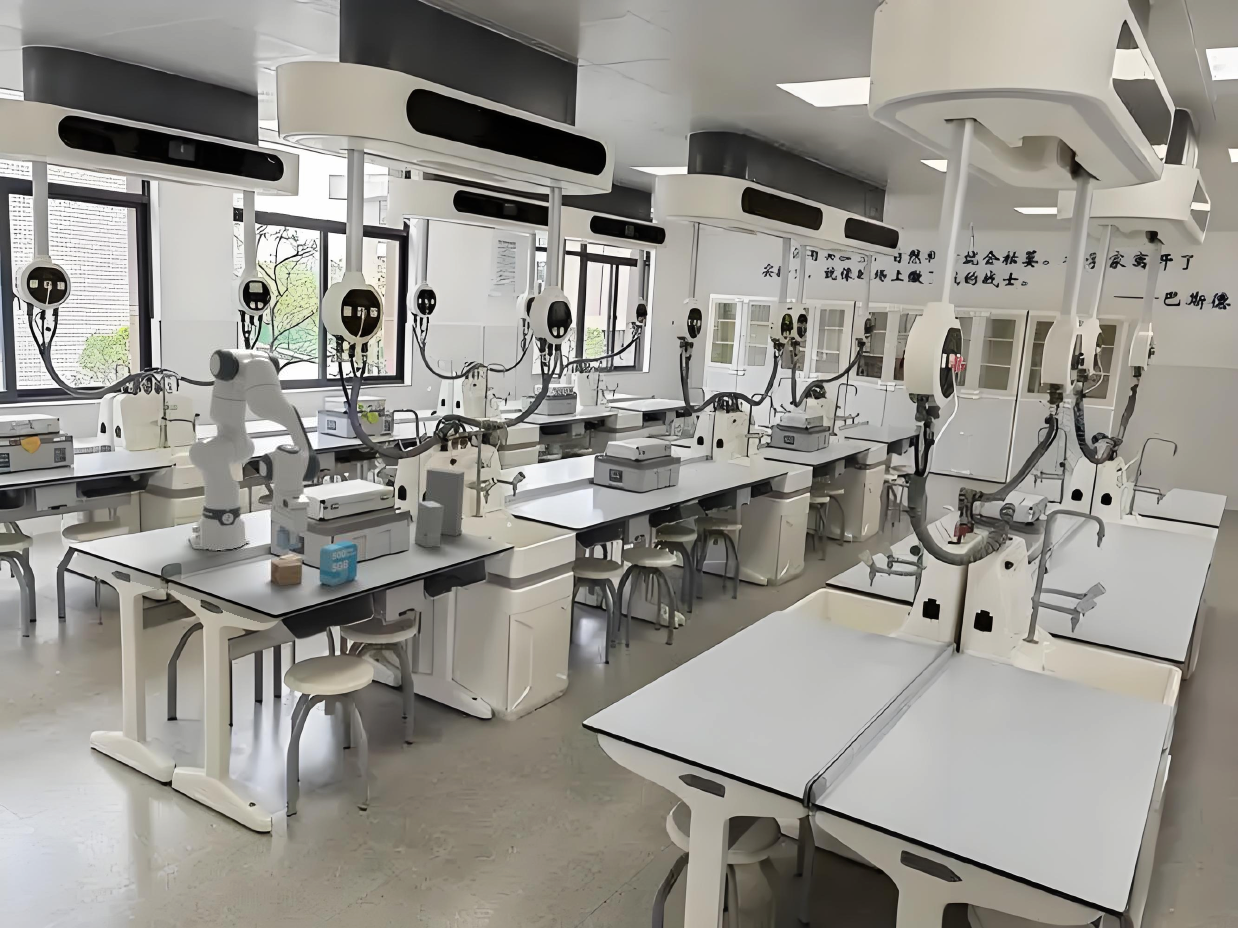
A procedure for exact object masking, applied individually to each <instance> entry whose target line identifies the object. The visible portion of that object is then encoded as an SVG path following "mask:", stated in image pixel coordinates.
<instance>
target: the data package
mask: <svg viewBox="0 0 1238 928" xmlns="http://www.w3.org/2000/svg"><path fill="white" fill-rule="evenodd" d="M357 572H358V545H357V544H356V543H353V542H349V541H340V542H336V543H333V544H330V545H325V546H323V547H321V549H320V551H319V578H318V580H319V582H320V584H323V585H326V586H331V587H335V586H337V585H340V584H341V585H342V584H343V583H346V582H350V581H353V580H355V578H356V577H357Z"/></svg>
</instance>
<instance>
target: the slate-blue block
mask: <svg viewBox="0 0 1238 928" xmlns="http://www.w3.org/2000/svg"><path fill="white" fill-rule="evenodd" d="M289 537H290V530H288V529H285V530H279V529H277V530H276V547H278V548H280V549H282V550H284V551H285V550H291V549H299V547H300V533H298V534H297V537H296V543H295V544H290V543H289V542H288V541H289V540H288V538H289Z"/></svg>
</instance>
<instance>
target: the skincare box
mask: <svg viewBox="0 0 1238 928" xmlns="http://www.w3.org/2000/svg"><path fill="white" fill-rule="evenodd" d="M443 511H444V506H442V505H440V504H438V503H436V502H433V501H426V502H425V501H419V502H418V508H417V516H416V526H415V535H414V543H415V544H417V545H420V546H421V547H425V548H433V546H434V547H439V546H438V545H441V535H442V534H441V528H442V519H443Z"/></svg>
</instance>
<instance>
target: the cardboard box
mask: <svg viewBox="0 0 1238 928" xmlns="http://www.w3.org/2000/svg"><path fill="white" fill-rule="evenodd" d="M270 562H271V563H270V565H271V566H270V581H272V582H273V583H275V584H276V585H278V586H279V587H280V586H281V587H282V586H286V585H287V586H288V585H289V586H290V585H293V584H294V585H295V584H302V580H303V579H302V578H303V576H302V574H303V563H302V564H301V563H299V562H298V561H296V560H295V559H285V560H279V559H278V560H271V561H270Z"/></svg>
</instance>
